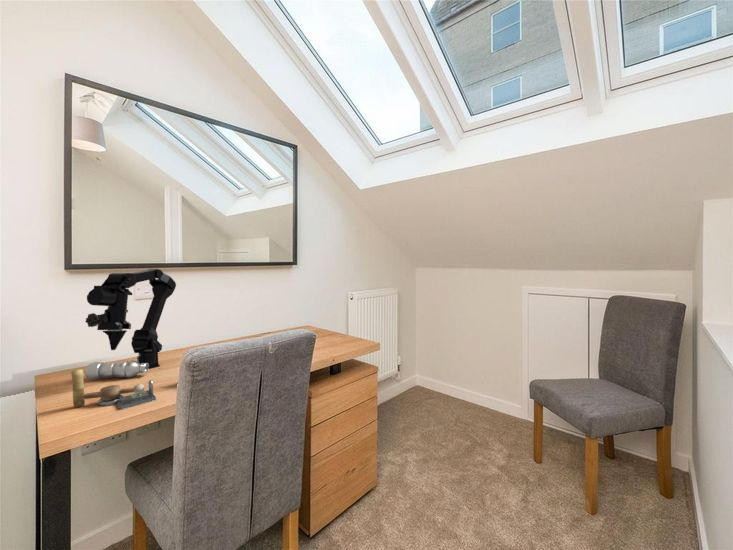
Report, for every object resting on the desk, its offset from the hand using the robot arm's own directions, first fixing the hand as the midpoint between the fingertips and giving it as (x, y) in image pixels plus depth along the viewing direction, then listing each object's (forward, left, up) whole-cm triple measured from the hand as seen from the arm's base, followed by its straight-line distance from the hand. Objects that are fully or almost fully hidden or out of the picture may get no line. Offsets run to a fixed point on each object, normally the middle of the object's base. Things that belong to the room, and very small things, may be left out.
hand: (113, 350), depth 123 cm
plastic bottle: (+6, -11, -9) cm, 16 cm away
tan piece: (+4, +20, -12) cm, 23 cm away
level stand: (+1, +23, -12) cm, 25 cm away
